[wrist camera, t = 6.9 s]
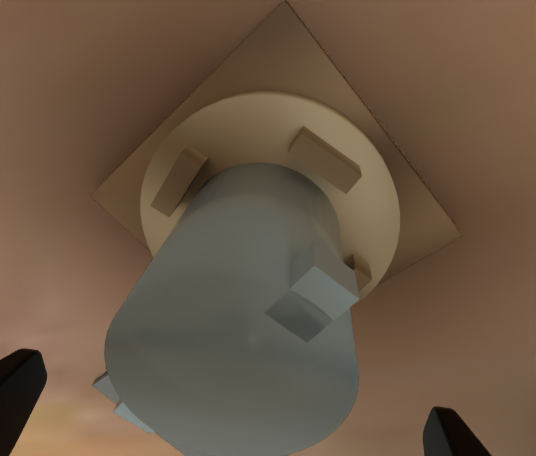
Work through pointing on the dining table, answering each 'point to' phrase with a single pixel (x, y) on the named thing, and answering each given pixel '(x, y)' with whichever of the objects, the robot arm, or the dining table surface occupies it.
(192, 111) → the turntable base
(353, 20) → the dining table surface
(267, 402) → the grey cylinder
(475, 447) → the robot arm
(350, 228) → the turntable
